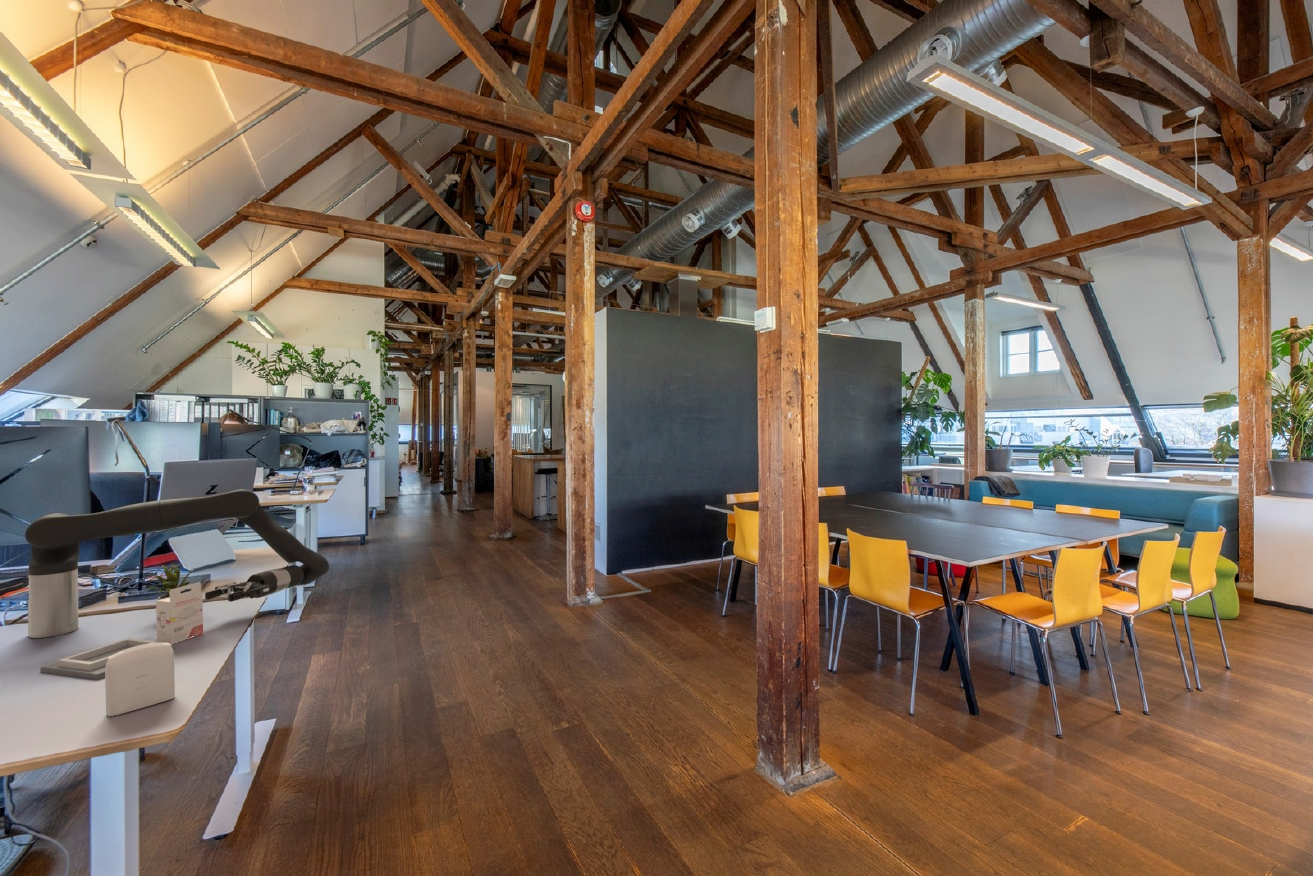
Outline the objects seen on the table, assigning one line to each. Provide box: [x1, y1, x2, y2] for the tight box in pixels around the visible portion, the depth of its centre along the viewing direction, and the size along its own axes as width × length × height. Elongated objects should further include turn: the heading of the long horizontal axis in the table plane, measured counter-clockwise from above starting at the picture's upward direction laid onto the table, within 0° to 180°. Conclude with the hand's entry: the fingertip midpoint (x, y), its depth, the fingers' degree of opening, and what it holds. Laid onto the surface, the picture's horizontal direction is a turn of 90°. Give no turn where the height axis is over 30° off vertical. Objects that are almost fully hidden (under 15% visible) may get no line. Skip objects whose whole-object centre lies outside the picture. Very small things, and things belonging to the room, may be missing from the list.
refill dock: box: [40, 637, 176, 680], centre depth 132 cm, size 18×16×3 cm
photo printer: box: [104, 643, 176, 717], centre depth 110 cm, size 10×4×12 cm, turn 140°
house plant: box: [141, 562, 199, 600], centre depth 165 cm, size 14×14×16 cm
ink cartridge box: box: [155, 582, 204, 645], centre depth 146 cm, size 9×5×15 cm, turn 168°
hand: (217, 597), depth 156 cm, fingers open, 8 cm apart
